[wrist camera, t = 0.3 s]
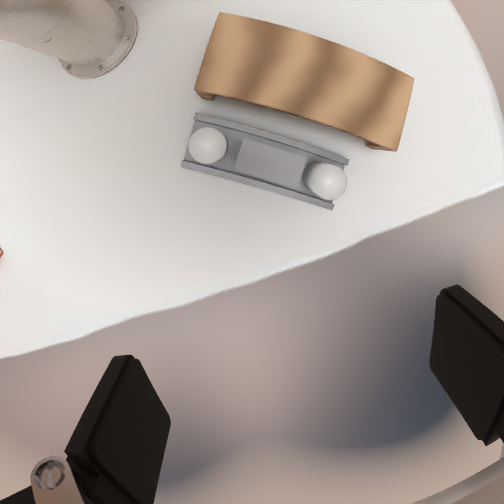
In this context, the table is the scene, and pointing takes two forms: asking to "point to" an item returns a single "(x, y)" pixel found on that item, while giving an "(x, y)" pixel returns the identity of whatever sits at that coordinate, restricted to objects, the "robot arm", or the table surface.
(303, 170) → the grey elongated piece
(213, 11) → the table surface
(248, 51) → the curved wooden channel
